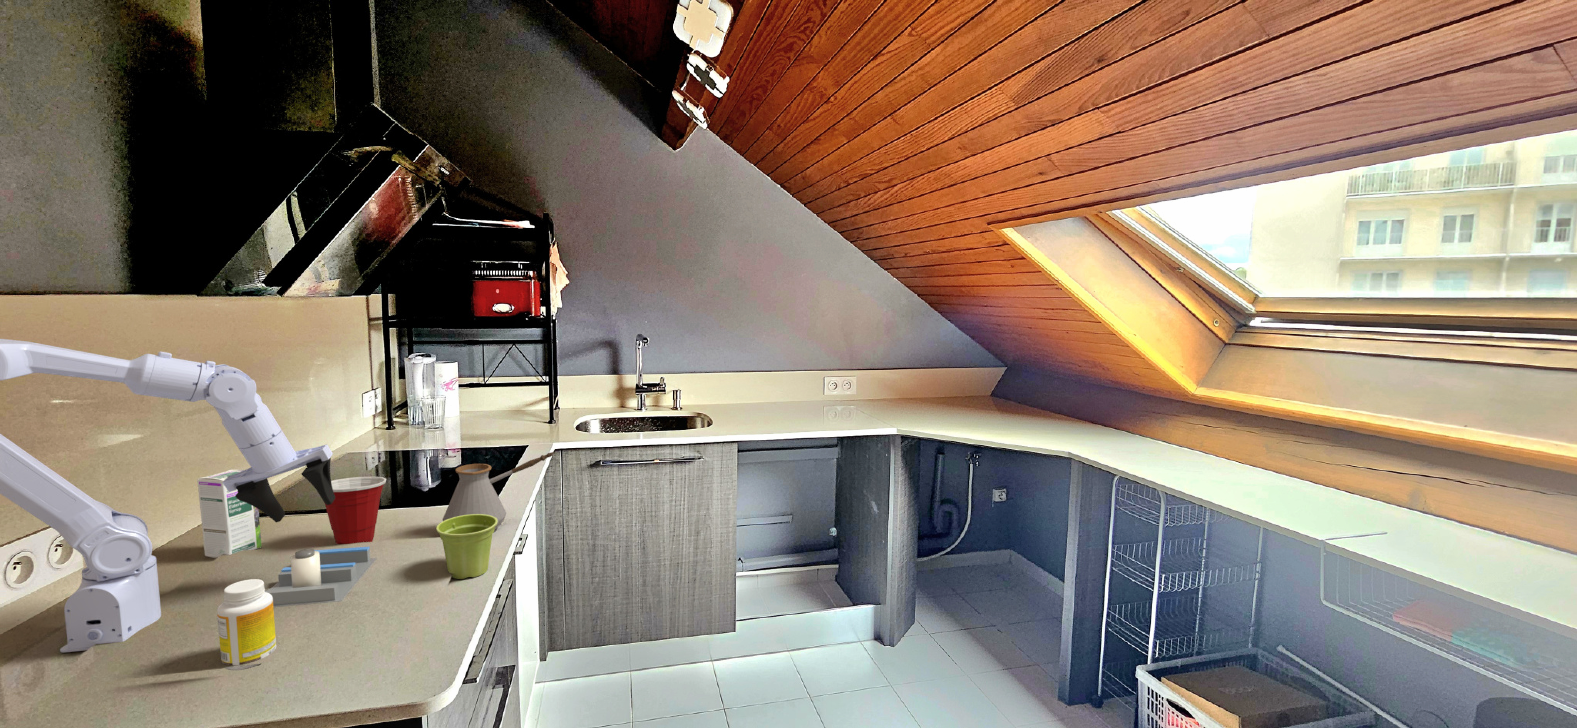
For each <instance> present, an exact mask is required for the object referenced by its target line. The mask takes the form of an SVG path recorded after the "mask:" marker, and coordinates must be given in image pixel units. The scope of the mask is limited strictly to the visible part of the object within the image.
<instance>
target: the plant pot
mask: <svg viewBox="0 0 1577 728" xmlns="http://www.w3.org/2000/svg"><path fill="white" fill-rule="evenodd" d="M497 523H498V520H497V518H495V517H493V516H491V515H486V514H470V515H462V516H457V517H453V518H450V519H447V520H445V521H443V520H442V521H441V522H440V523H438V524H437V525H436V532H437V533H438V534H439V538H440V539H441V541H442V545H443V550H444V556H445V561H446V568H447V571H448V572H449V573H450V574H452V575H451V578H453V579H457V580H465V579H466V578H477V577H480V576H481V575H483V574H485V573H486V572H487V571H488V570H489V564H490V557H491V556H490V555H491V549H492V548H491V547H492V541H493V534H494V532H495V531H494V529H495V526H496V525H497Z"/></svg>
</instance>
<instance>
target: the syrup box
mask: <svg viewBox="0 0 1577 728" xmlns="http://www.w3.org/2000/svg"><path fill="white" fill-rule="evenodd" d="M244 470H245V469H229V470H227V471H222V472H219V473H218V472H217V473H216V474H211V475H207V476H203V477H199V478H197V487H198V500H199V509H200V517H201V520H200V521H201V529H202V538H203V549H204V556H205V557H209V558H214V559H218V558H220V557H221V556H222V555H228V556H230V555H234V554H236V553H238V552H242V551H254V550H259V549H260V548H262V547H263V546H262V535H261V524H260V523H261V522H260V513H259V511H260V510H259V509H258V508H256V507H254V506H252V505H250V504H248V503H246V502H243V501H240V500H238V499H237V498H236V494H237V493H238V492H237V491H238V490H234V491H231V492H229V491H228V490H227V488H226V487H225V486H224V484H223V483H222V482H223V481H224V480H225V479H226V478H227V477H228V476H230V475H233V474H236V473H239V472H241V471H244Z"/></svg>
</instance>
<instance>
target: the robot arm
mask: <svg viewBox="0 0 1577 728" xmlns="http://www.w3.org/2000/svg"><path fill="white" fill-rule="evenodd" d="M172 356H173V354H172V352H166V351H161V350H160V351H159V352H158V353H157V354H151V353H144V354H142V355H141V356H139V357H136V358H133V359H125V358H118V357H113V356H107V355H103V354H97V353H93V352H86V351H82V350H75V349H71V348H65V347H60V346H54V345H49V344H43V343H37V342H32V341H26V340H25V341H24V340H19V339H18V340H15V339H7V338H0V381H6V380H11V379H15V378H19V377H23V376H27V375H31V374H47V375H56V376H63V377H72V378H81V379H89V380H96V381H104V382H115V383H121V384H122V383H123V384H124V385H125V386H126V387H127V388H128V389H129V390H130V392H131V393H133V394H134V395H138V396H147V397H154V398H161V399H168V400H169V399H170V400H175V401H176V400H177V401H182V402H183V401H184V402H191V403H195V402H198V401H203V400H204V401H206V402H207V403H208V404H209V405H211V406H212V407H213V408H214V410H216V413H218V416H219V417H220V418H221V424H222V426H223V427H224V428H225V430H226V431H227V434H229V436H230V438H231V439H232V441H233V442H234V443H235V445H236V446H237V448H238V449H239V451H240V453H241V455H242V456H243V458H244V459H245V460H246V461H247V463H248V465H249V466H250V467H249V468H246V469H243V470H244V471H241V472H239V473H236V474H233V475H230V476H228V477H227V478H226V479H225V480H224V481H223V482H222V483H223V484H224V486H225V487H226V488H227V490H228V491H229V492H231V491H234V490H238V491H237V492H238V493H237V494H236V498H237V499H238V500H240V501H243V502H246V503H248V504H250V505H252V506H254V507H256V508H258V510H259V511H261V512H262V513H263V514H265V515H266V516H268V517H269V518H270V520H273V521H274V522H275V523H276V524H277V523H279V522H281V521H282V520H283V518H284V517H285V516H286V512H285V511H284V508H283V507H282V505H281V504H280V502H279V501H278V499H277V498H276V496H275V494H274V492H273V490H272V488H271V486H270V483H269V478H272V477H275V476H278V475H282V474H284V473H287V472H291V471H294V470H297V469H300V468H302V467H303V468H304V467H306V468H304V469H303V471H302V472H301V473H300V474H301V476H303V478H305V479H306V480H307V482H309V483H310V484H311V485H312V486H313V488H315V490H316V491H317V493H318V496H320V498H321V500H322V501H323V503H324V502H325V503H324V505H325V504H326V505H329V504H332V502H333V501H334V499H335V495H334V492H333V488H332V484H331V481H332V480H331V461H332V460H331V457H333V455H334V454H333V451H332V450H331V448H330V447H329V445H328V444H324V445H319V446H316V447H311V448H306V449H300V450H296V451H295V449H294V447H293V445H292V444H291V442H290V441H289V439H288V438H287V436H286V434H285V433H284V431H283V429H282V427H281V426H280V425H279V423H278V422H277V420H276V419H275V417H274V415H273V413H272V412H271V410H270V409H269V407H268V406H267V404H265V403H263V399H262V397H261V396H260V394H259V393H257V384H256V381H255V379H252V378H251V377H250V376H249V375H248V374H247V373H245V372H244V371H242V370H241V369H239V368H237V367H233V366H229V365H227V364H217V363H216V362H215V361H210V360H206V361H205V362H198V361H193V360H186V359H183V358H177V357H176V358H175V357H172ZM216 364H217V365H216ZM0 495H1V496H3V497H4V498H6V499H7V500H9V501H11V502H12V503H14V504H15V505H16V506H18V507H20V508H21V509H23V510H24V511H26V512H27V513H29V514H31V516H34V517H35V518H36V519H38V520H40V521H41V522H43V523H44V524H45V525H48V527H50V528H52V529H53V530H55V531H57V533H58V534H59V535H60V536H61V537H62V538H63V539H64V541H66V543H67V544H68V545H69V546H70V547H71V548H72V549H74V550H76V551H77V552H78V553H80V555H82V557H83V560H84V563H85V566H86V567H85V568H82V570H81V583H80V585H79V586H78V588H77V589H76V590H75V592H73V593H72V594H71V595H69V597H68V599H67V600H66V602H65V604H64V610H63V611H64V619H65V620H64V621H65V628H66V637H67V638H66V639H67V643H66V645H64V646H63V647H61V648H60V649H59V652H60V653H71V652H82V651H89V650H90V649H91V648H93V647H94V646H96V645H101V644H113V643H122V642H125V641H127V640H128V639H129V638H131V637H132V636H133V635H135V634H136V633H138V632H139V631H141V630H143V629H144V628H146V627H148V626H150V625H151V624H154V623H155V622H157V621H158V620H159V619H160V618H161V616H162V610H161V599H160V587H159V585H160V584H159V576H158V575H159V574H158V564H157V563H158V562H157V556H155V555H152V553H153V543H152V541H151V539H150V538H149V530H148V525H147V523H146V522H145V521H144V520H143V519H142V518H141V517H140V516H138V515H135V514H132V513H125V512H121V511H118V510H115V509H114V508H113V507H111V506H109V505H108V504H106V503H104V502H101V501H98V500H97V499H96V500H95V499H94V498H92V497H91V496H90V495H89V494H87V493H86V492H84V491H83V490H82V489H80V488H78V487H77V486H75V485H74V484H73V483H71V482H70V481H68V480H67V479H65V478H64V477H62V476H61V475H60V474H58V473H57V472H56V471H54V470H53V469H51V468H49V466H47V465H46V464H45V463H43V462H42V461H40V460H38V459H37V458H36V457H34V456H33V455H31V454H30V453H28V452H27V451H25V450H24V449H23V448H21V447H20V446H19V445H17V444H16V443H15V442H13V441H12V440H10V439H9V438H7V437H6V436H4V435H3V434H1V433H0Z"/></svg>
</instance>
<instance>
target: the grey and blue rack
mask: <svg viewBox="0 0 1577 728" xmlns="http://www.w3.org/2000/svg"><path fill="white" fill-rule="evenodd" d="M370 547H371V546H362V547H361V546H360V547H358V546H357V547H346V548H345V547H344V548H329V549H314V551H318V552H319V554H320V571H321V586H310V587H298V588H292V575H291V566H290V567H289V566H288V567H287V566H285V567H283V568H282V569H281V570H280V571H281V572H280V573H278V575H277V576H278V577H277V578H278V581H277V582H276V583H275V584H274V585H272V586H271V588H269V589H265V592H267V593H269V594H271V595H272V597H273V608H281V607H289V606H291V607H292V606H300V605H301V606H302V605H303V606H304V605H313V604H325V603H335V602H342V601H343V600H344V599H345V598H346V596H347V595H348V594H349V593H350V592H351V590H352V589H353V588H354V587H355V586H356V585H357V584H358V583H359V581H360V580H361V579H362V577H363V576H364V575H365V574H366V572H368V570H369V569H370V568H371V567H372V565H373V564H374V563H375V562H376V561H377V560H378V557H372V558H371V549H370Z"/></svg>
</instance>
